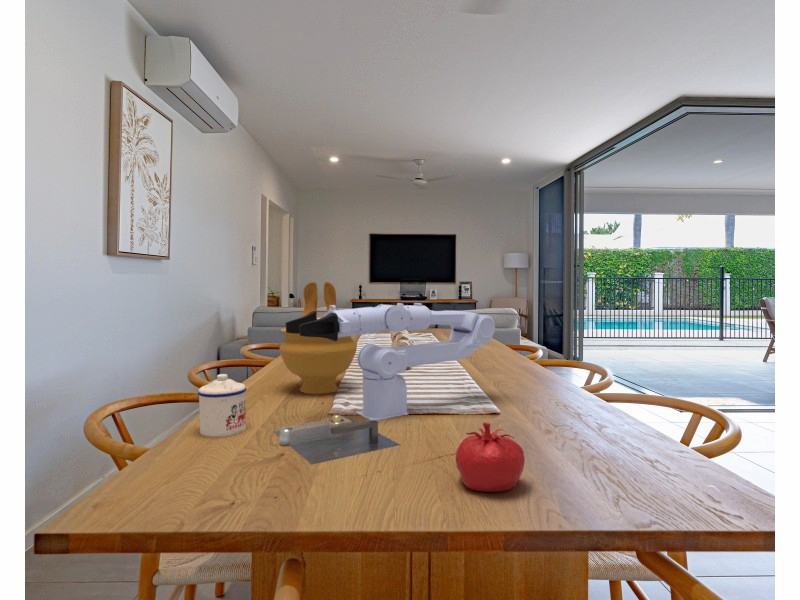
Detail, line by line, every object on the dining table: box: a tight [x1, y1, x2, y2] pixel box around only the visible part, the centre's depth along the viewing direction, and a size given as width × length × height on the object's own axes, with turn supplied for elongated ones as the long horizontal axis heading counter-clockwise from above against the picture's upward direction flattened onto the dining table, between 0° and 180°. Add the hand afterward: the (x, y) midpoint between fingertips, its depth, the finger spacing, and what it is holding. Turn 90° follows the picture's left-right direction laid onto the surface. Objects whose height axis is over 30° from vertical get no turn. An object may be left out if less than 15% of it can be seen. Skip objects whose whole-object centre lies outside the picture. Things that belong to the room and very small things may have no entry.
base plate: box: [273, 418, 401, 465], centre depth 91 cm, size 17×20×1 cm
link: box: [279, 415, 352, 447], centre depth 91 cm, size 13×4×3 cm, turn 122°
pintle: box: [332, 413, 342, 423], centre depth 93 cm, size 2×2×4 cm
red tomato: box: [455, 421, 526, 493], centre depth 71 cm, size 10×10×9 cm
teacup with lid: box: [197, 373, 247, 438], centre depth 97 cm, size 12×9×12 cm
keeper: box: [331, 419, 379, 443], centre depth 86 cm, size 9×1×4 cm, turn 122°
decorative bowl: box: [279, 281, 357, 395], centre depth 133 cm, size 21×21×30 cm
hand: (292, 329), depth 96 cm, fingers open, 7 cm apart
